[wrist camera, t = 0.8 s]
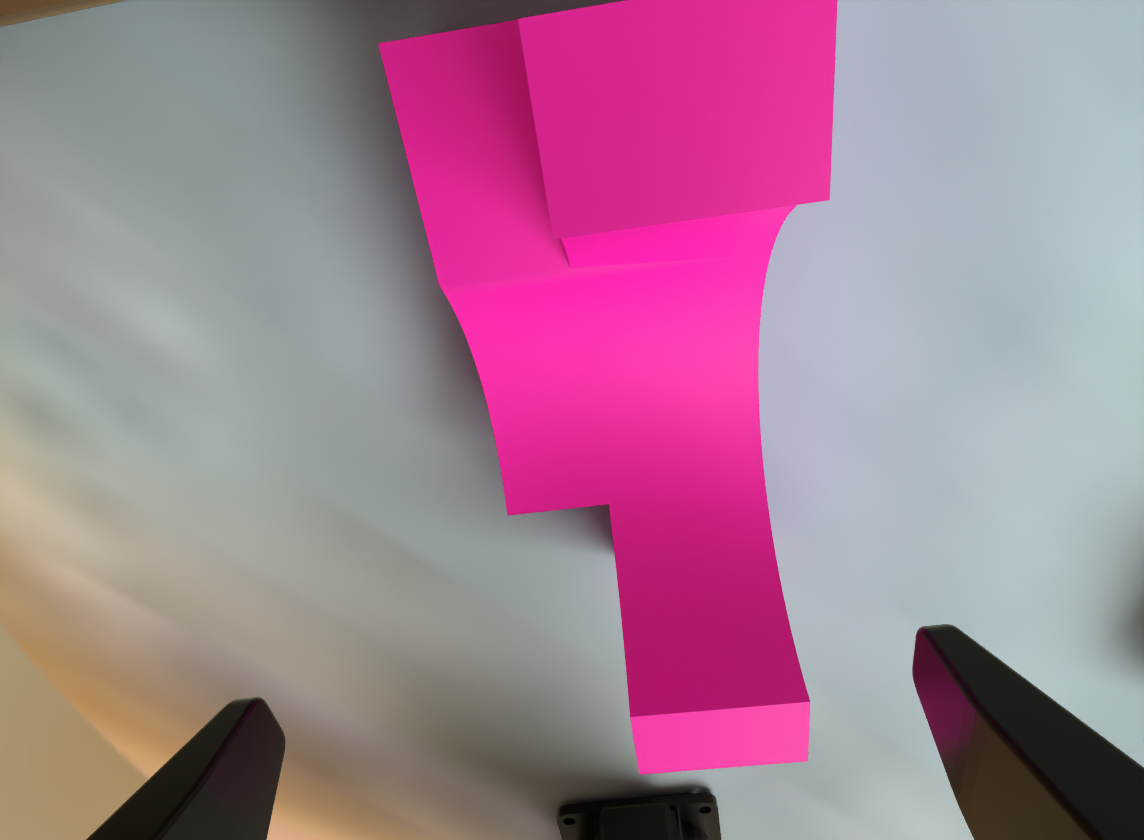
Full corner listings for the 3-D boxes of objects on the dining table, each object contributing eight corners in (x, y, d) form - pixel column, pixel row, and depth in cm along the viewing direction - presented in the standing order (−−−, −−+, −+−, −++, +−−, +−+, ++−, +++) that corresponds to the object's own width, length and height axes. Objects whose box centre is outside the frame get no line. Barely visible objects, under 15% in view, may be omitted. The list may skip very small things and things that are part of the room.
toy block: (430, 35, 15) (316, 52, 9) (723, -15, 14) (838, -36, 8) (545, 560, 22) (530, 783, 16) (740, 540, 22) (807, 761, 15)
